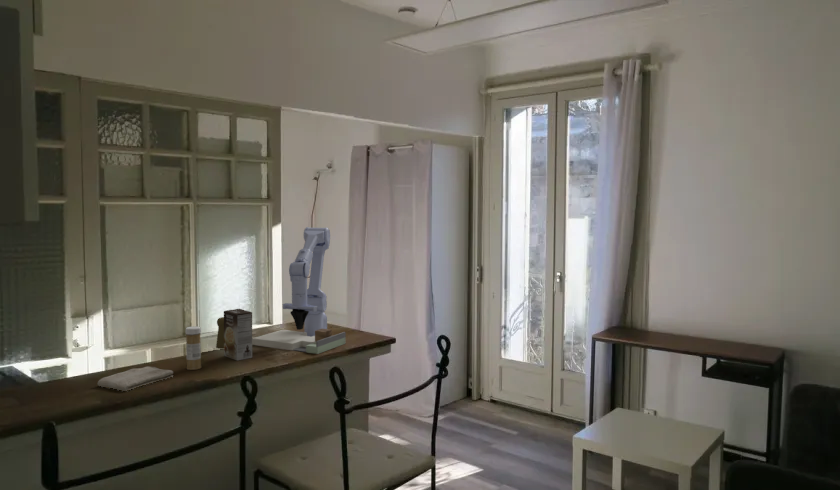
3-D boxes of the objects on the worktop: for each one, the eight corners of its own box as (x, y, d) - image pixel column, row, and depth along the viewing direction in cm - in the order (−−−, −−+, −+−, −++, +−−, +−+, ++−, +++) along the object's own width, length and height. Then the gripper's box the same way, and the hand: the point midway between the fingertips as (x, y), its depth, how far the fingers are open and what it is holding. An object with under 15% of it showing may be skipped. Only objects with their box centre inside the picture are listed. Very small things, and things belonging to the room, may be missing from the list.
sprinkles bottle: (200, 366, 196) (199, 325, 195) (202, 369, 192) (201, 328, 191) (185, 367, 194) (184, 326, 193) (186, 371, 190) (186, 329, 189)
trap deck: (282, 335, 242) (282, 324, 242) (345, 343, 229) (345, 332, 228) (252, 344, 226) (252, 333, 225) (317, 353, 213) (317, 341, 212)
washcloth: (176, 378, 184) (176, 368, 184) (125, 394, 168) (125, 383, 167) (148, 373, 189) (148, 363, 189) (96, 388, 173) (96, 378, 172)
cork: (235, 345, 225) (235, 316, 224) (229, 348, 219) (228, 319, 218) (220, 344, 226) (219, 315, 225) (213, 348, 220) (212, 318, 219)
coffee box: (223, 356, 209) (222, 310, 208) (239, 352, 213) (239, 308, 212) (236, 360, 202) (236, 313, 201) (253, 357, 207) (253, 311, 206)
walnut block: (321, 339, 225) (321, 328, 225) (331, 340, 223) (331, 329, 223) (315, 341, 221) (314, 330, 221) (324, 342, 219) (324, 331, 219)
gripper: (277, 293, 225) (277, 329, 226) (308, 296, 219) (309, 333, 220) (289, 291, 232) (289, 325, 233) (320, 293, 225) (320, 329, 226)
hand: (299, 329), depth 227 cm, fingers closed
